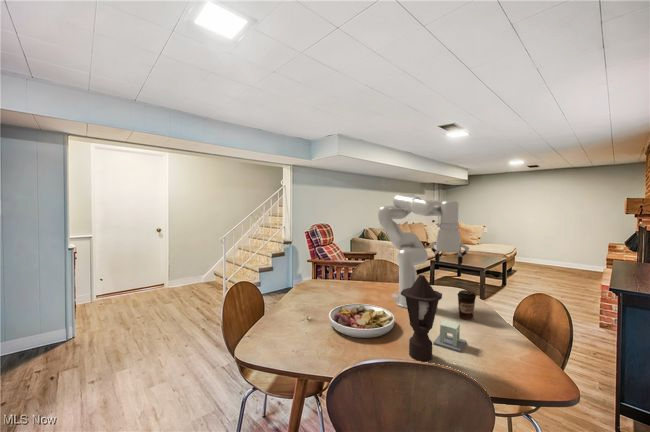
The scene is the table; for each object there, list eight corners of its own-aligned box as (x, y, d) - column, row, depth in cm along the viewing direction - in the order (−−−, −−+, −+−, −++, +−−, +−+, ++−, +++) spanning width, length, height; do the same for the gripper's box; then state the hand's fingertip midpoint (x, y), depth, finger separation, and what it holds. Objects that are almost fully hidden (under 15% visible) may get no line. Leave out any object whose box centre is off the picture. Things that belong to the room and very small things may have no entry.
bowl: (356, 308, 151) (356, 294, 151) (406, 325, 130) (407, 309, 129) (315, 325, 130) (315, 308, 130) (367, 349, 109) (367, 329, 108)
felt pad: (433, 344, 112) (433, 342, 112) (440, 335, 120) (440, 333, 120) (460, 352, 106) (460, 350, 106) (466, 342, 114) (466, 340, 114)
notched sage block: (439, 341, 112) (440, 324, 112) (443, 336, 117) (444, 319, 117) (455, 346, 109) (456, 328, 108) (459, 340, 113) (459, 323, 113)
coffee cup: (478, 322, 133) (479, 295, 132) (459, 320, 135) (460, 294, 134) (472, 315, 141) (473, 289, 141) (455, 313, 143) (455, 288, 143)
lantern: (450, 366, 97) (451, 280, 95) (408, 368, 96) (409, 281, 94) (430, 344, 112) (431, 270, 110) (394, 346, 110) (395, 271, 109)
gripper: (427, 226, 133) (427, 262, 133) (467, 228, 122) (467, 267, 123) (432, 225, 138) (431, 260, 139) (471, 227, 128) (470, 264, 129)
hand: (448, 263), depth 131 cm, fingers open, 9 cm apart
